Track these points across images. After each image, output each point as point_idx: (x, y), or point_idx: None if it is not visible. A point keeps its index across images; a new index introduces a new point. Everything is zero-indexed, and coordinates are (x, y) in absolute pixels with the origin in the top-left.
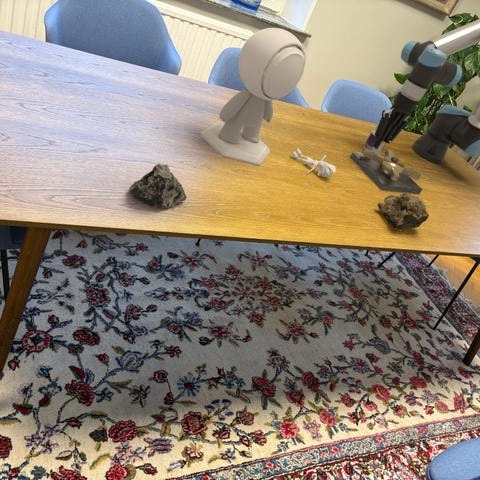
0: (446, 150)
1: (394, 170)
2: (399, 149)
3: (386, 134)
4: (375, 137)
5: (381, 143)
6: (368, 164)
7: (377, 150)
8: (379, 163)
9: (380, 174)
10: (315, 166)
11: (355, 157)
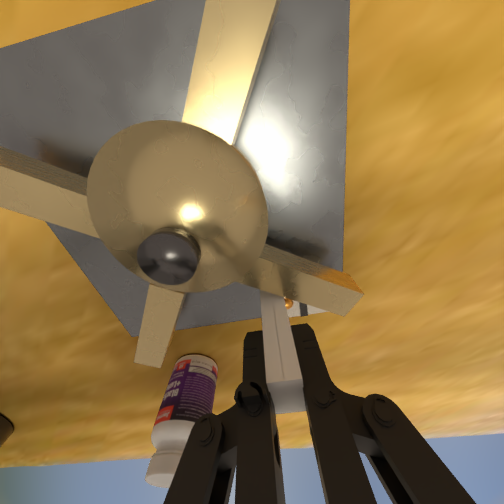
0: None
1: (237, 71)
2: (62, 405)
3: (341, 495)
4: (197, 418)
5: (298, 365)
6: (307, 237)
7: (287, 314)
8: None
9: (280, 148)
10: None
11: None
